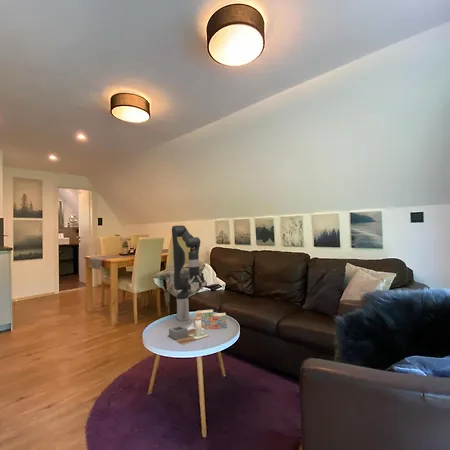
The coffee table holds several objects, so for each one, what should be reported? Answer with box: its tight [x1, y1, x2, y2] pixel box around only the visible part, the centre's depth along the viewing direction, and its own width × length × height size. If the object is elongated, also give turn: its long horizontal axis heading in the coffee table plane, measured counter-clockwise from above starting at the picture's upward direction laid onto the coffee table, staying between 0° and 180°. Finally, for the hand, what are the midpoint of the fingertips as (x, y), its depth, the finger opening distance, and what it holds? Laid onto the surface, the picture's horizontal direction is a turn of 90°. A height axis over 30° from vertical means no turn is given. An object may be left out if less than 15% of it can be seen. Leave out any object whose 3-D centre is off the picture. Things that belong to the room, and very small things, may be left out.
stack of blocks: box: [195, 309, 228, 331], centre depth 203 cm, size 21×6×12 cm, turn 93°
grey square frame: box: [168, 325, 189, 341], centre depth 185 cm, size 9×9×5 cm
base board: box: [167, 327, 210, 346], centre depth 185 cm, size 20×20×2 cm
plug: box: [194, 315, 203, 336], centre depth 184 cm, size 4×4×12 cm
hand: (194, 288), depth 197 cm, fingers open, 8 cm apart
